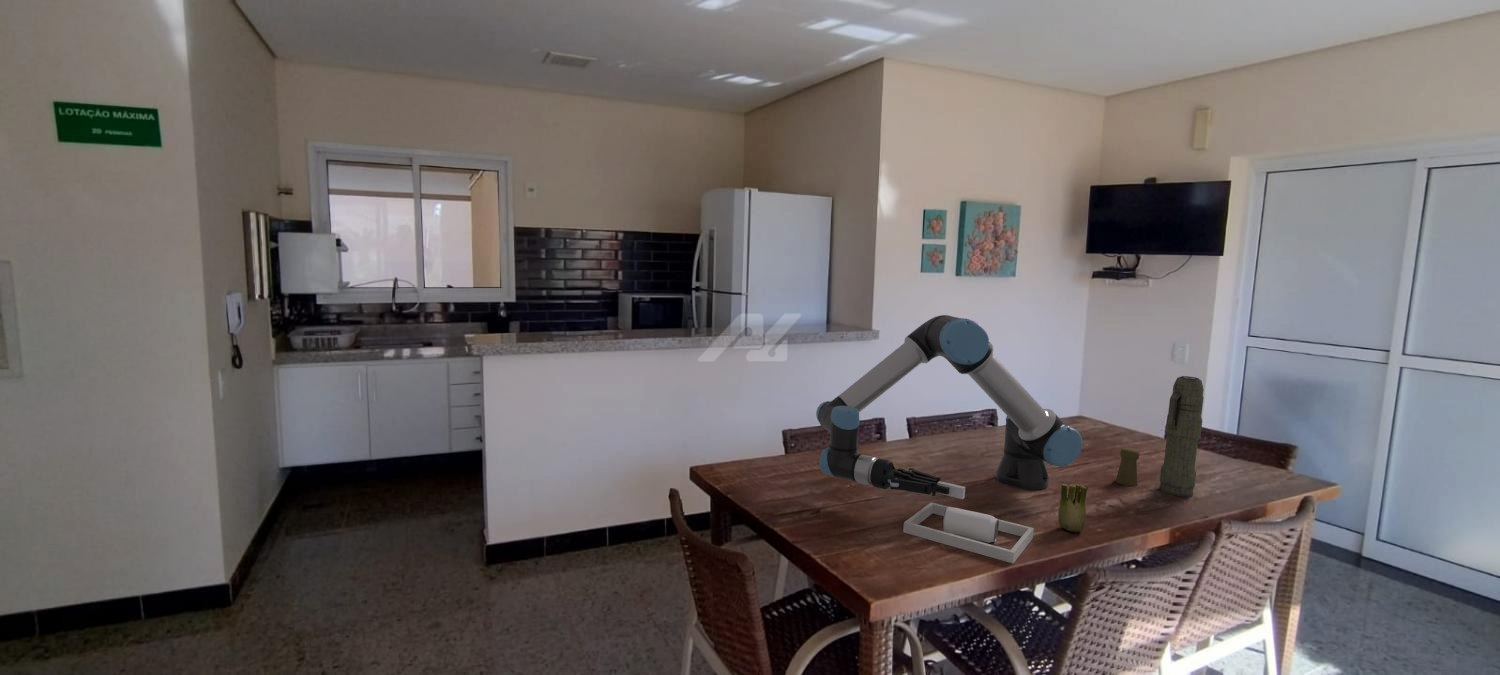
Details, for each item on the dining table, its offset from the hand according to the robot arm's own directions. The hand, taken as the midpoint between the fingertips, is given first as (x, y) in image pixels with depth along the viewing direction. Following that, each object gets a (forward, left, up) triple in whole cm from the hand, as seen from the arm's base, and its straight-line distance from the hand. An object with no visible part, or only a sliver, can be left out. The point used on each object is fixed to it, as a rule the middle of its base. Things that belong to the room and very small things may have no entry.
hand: (963, 493), depth 164 cm
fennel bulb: (-30, -4, -11) cm, 32 cm away
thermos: (-78, -36, -11) cm, 86 cm away
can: (+4, -1, -7) cm, 8 cm away
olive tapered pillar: (-67, -43, -11) cm, 80 cm away
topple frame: (-2, +1, -10) cm, 11 cm away
